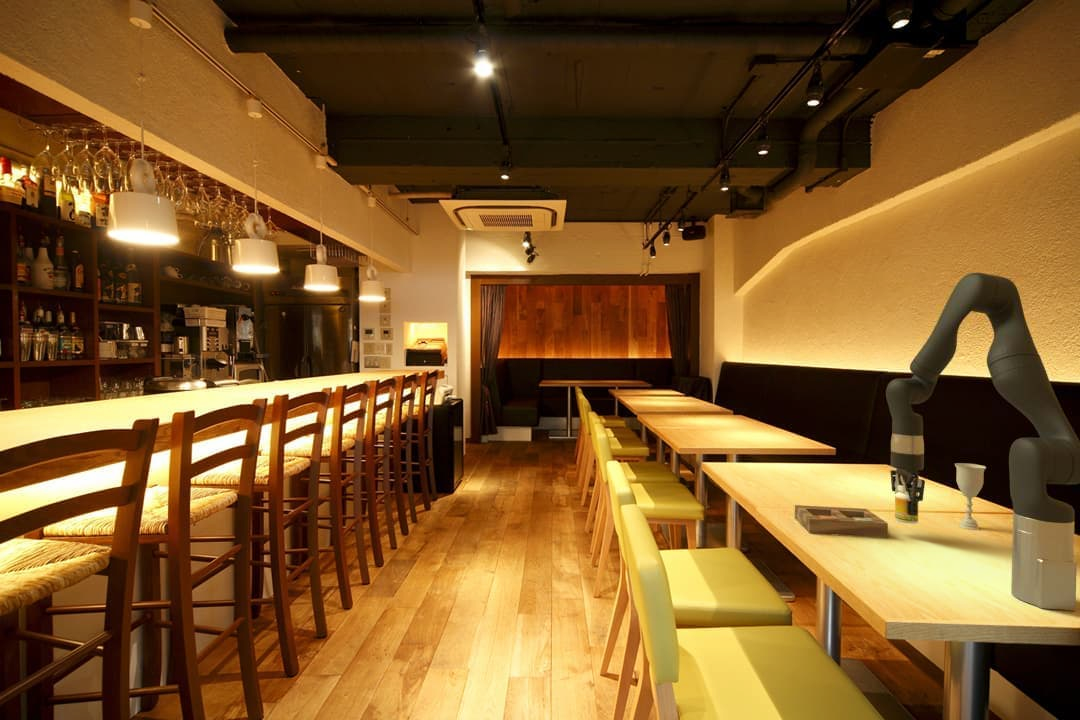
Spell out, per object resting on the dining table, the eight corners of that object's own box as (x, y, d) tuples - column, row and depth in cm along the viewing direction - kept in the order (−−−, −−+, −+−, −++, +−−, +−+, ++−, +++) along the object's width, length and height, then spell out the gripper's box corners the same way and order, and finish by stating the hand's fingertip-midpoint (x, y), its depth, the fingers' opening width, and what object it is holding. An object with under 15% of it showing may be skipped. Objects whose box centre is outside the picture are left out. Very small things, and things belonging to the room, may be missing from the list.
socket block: (887, 537, 148) (887, 522, 148) (809, 533, 152) (809, 517, 152) (865, 522, 162) (866, 507, 162) (794, 518, 166) (794, 504, 165)
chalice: (955, 528, 157) (956, 466, 157) (950, 521, 163) (952, 462, 163) (987, 532, 154) (989, 469, 153) (981, 525, 160) (983, 464, 159)
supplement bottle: (900, 517, 154) (900, 483, 154) (921, 522, 149) (922, 487, 149) (891, 520, 150) (891, 485, 151) (913, 525, 146) (913, 489, 146)
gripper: (936, 455, 142) (936, 520, 142) (908, 447, 156) (908, 506, 156) (905, 454, 143) (904, 518, 143) (880, 446, 158) (879, 504, 158)
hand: (906, 511), depth 150 cm, fingers closed on supplement bottle, 5 cm apart
